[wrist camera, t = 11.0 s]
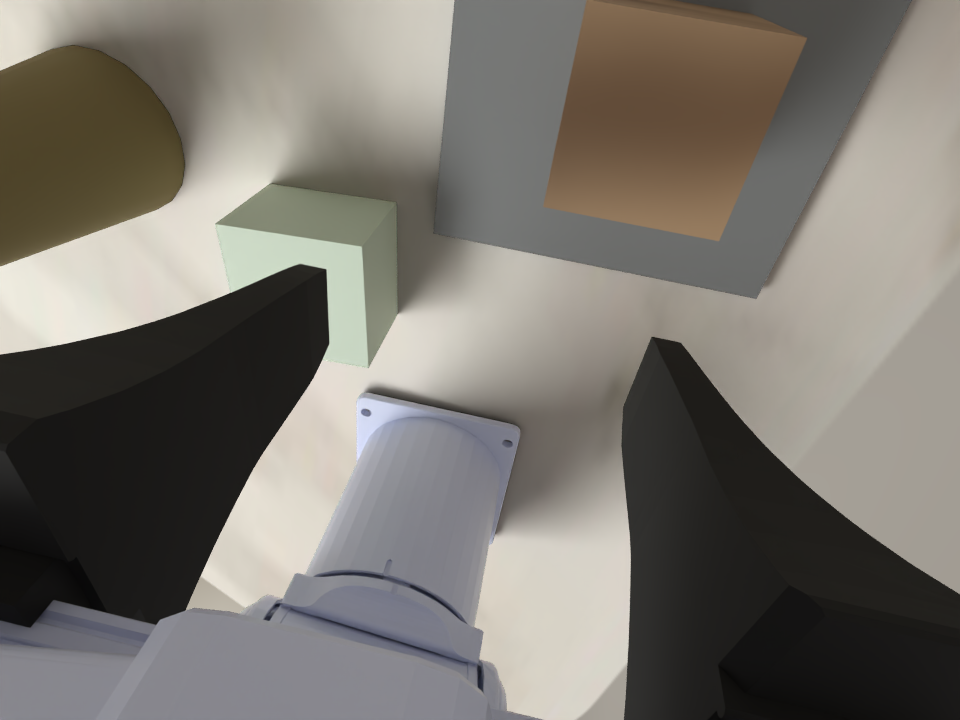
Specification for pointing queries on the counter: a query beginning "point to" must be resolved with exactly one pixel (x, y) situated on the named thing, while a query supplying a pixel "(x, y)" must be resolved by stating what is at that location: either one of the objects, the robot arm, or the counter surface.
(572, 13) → the mat
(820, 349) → the counter surface
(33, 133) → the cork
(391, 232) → the sage block
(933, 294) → the counter surface
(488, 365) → the counter surface
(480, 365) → the counter surface
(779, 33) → the walnut block
